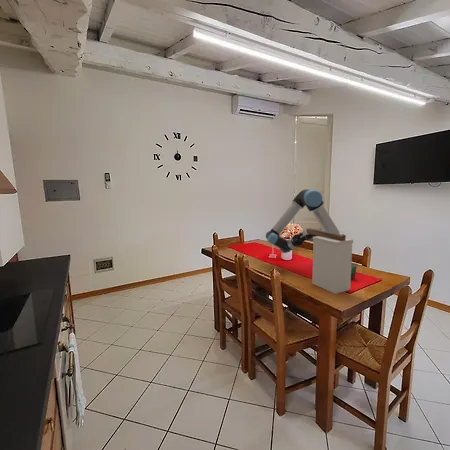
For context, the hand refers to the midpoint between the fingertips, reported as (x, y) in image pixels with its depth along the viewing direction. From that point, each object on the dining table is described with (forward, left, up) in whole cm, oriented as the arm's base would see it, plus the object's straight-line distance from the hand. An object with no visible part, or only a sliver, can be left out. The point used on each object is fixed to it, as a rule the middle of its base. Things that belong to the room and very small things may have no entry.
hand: (314, 230), depth 169 cm
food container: (-21, +7, -33) cm, 40 cm away
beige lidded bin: (0, +14, -32) cm, 35 cm away
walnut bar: (0, +8, -2) cm, 8 cm away
